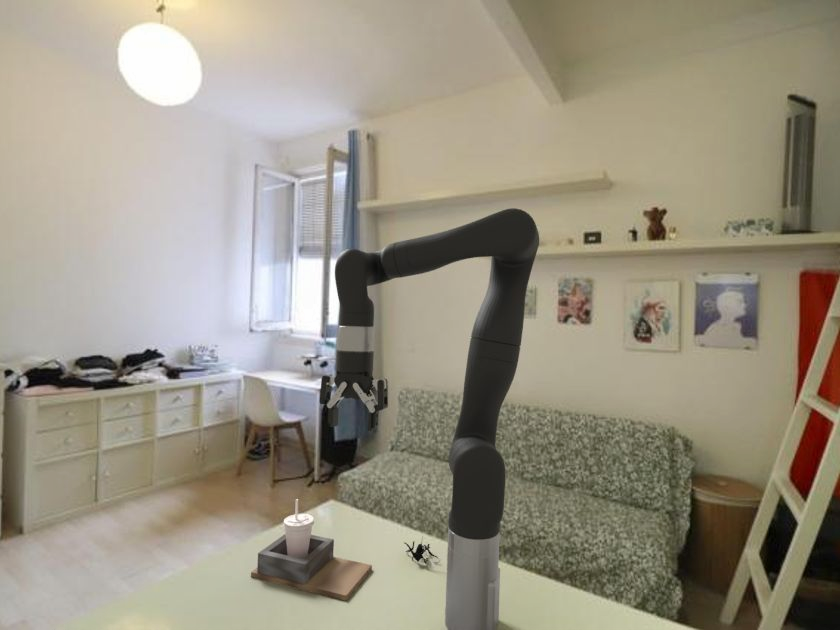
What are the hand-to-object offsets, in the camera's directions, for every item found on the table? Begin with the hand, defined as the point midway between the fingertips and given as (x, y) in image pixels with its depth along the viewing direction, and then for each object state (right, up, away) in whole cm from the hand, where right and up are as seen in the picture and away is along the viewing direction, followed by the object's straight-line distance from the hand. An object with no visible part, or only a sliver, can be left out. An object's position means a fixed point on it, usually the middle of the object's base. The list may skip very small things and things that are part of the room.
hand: (352, 428), depth 94 cm
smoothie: (-13, -31, +6) cm, 34 cm away
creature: (+14, -33, +12) cm, 38 cm away
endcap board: (-9, -32, +4) cm, 33 cm away
